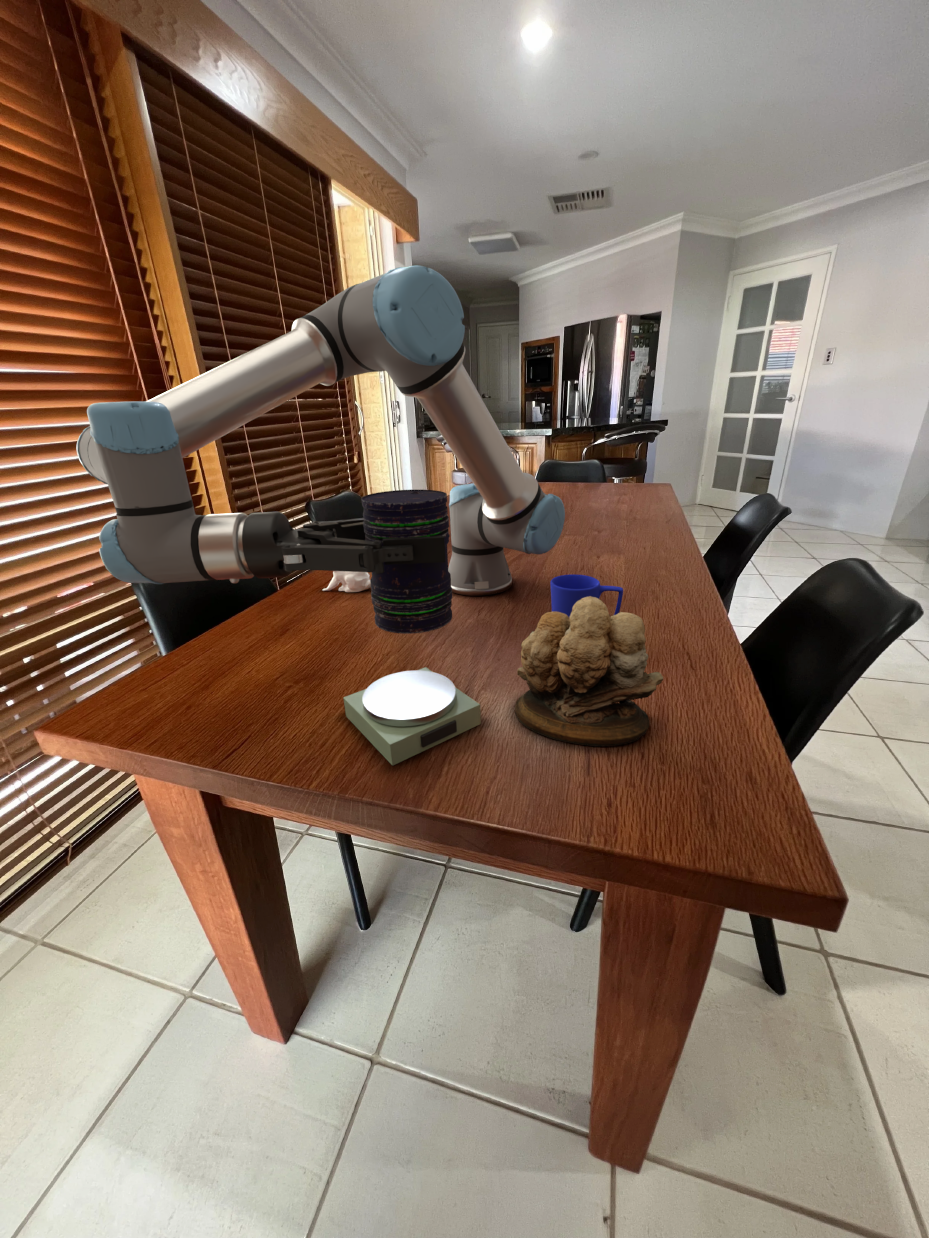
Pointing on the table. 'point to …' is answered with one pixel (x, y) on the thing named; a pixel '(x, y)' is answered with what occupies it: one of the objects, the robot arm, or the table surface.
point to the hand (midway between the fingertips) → (444, 537)
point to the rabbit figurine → (350, 581)
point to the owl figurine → (586, 676)
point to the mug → (577, 591)
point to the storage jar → (409, 590)
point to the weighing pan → (409, 698)
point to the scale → (412, 727)
